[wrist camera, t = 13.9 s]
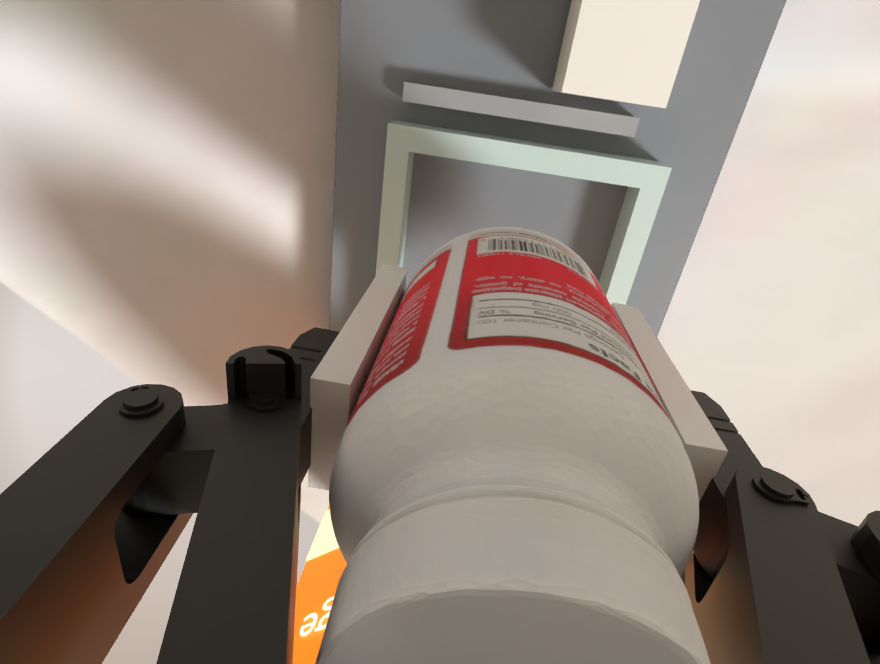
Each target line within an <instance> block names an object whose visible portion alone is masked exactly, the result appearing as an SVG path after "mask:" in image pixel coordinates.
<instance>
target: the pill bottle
mask: <svg viewBox="0 0 880 664" xmlns="http://www.w3.org/2000/svg"><path fill="white" fill-rule="evenodd" d="M329 503H330V516H331V521H332V526H333V530H334V534H335V537H336V541H337V543H338V546H339V548H340V551H341V553H342V555H343V558H344V560H345V561H346V563H347V565H346V567H345V569H344V570H343V573H342V575H341V577H340V579H339V582H338V585H337V589H336V592H335V596H334V600H333V603H332V607H331V610H330V614H329V617H328V621H327V625H326V628H325V632H324V635H323V638H322V642H321V645H320V648H319V652H318V655H317V658H316V663H315V664H711V663H710V660H709V656H708V653H707V650H706V647H705V644H704V641H703V638H702V635H701V632H700V629H699V626H698V623H697V620H696V617H695V614H694V612H693V608H692V604H691V600H690V597H689V595H688V592H687V589H686V587H685V585H684V583H683V581H682V579H681V578H680V577H681V575H682V574H683V572H684V570H685V568H686V566H687V564H688V561H689V559H690V557H691V554H692V551H693V548H694V545H695V541H696V536H697V531H698V524H699V498H698V491H697V484H696V479H695V476H694V472H693V468H692V465H691V462H690V460H689V458H688V455H687V453H686V451H685V449H684V446H683V443H682V441H681V439H680V437H679V435H678V433H677V430H676V428H675V426H674V424H673V423H672V421H671V419H670V417H669V415H668V414H667V412H666V410H665V408H664V406H663V405H662V403H661V401H660V399H659V397H658V395H657V393H656V391H655V389H654V387H653V386H652V384H651V382H650V380H649V377H648V375H647V374H646V372H645V370H644V368H643V366H642V364H641V362H640V360H639V358H638V355H637V353H636V352H635V350H634V348H633V347H632V345H631V343H630V340H629V338H628V336H627V334H626V333H625V331H624V329H623V327H622V325H621V324H620V322H619V320H618V318H617V316H616V314H615V312H614V311H613V309H612V307H611V305H610V303H609V301H608V299H607V297H606V295H605V294H604V292H603V290H602V288H601V286H600V284H599V283H598V281H597V279H596V278H595V276H594V274H593V273H592V271H591V270H590V268H589V267H588V266H587V264H586V263H585V262H584V261H583V260H582V259H581V257H580V256H578V255H577V254H576V253H575V252H574V251H573V250H572V249H571V248H569V247H568V246H566V245H565V244H563V243H562V242H560V241H559V240H557V239H555V238H553V237H551V236H549V235H546V234H544V233H541V232H538V231H534V230H530V229H525V228H519V227H505V226H504V227H490V228H483V229H479V230H476V231H472V232H469V233H466V234H463V235H461V236H459V237H456V238H454V239H452V240H451V241H449V242H447V243H446V244H444V245H442V246H441V247H440V248H439V249H437V250H436V251H435V252H434V253H433V254H431V255H430V256H429V257H428V258H427V259H426V260H425V261H424V262H423V264H422V265H421V266H420V268H419V269H418V270H417V272H416V273H415V274H414V276H413V278H412V280H411V281H410V283H409V285H408V287H407V289H406V291H405V293H404V295H403V298H402V300H401V302H400V305H399V307H398V310H397V312H396V314H395V316H394V319H393V321H392V323H391V326H390V328H389V330H388V333H387V335H386V337H385V340H384V342H383V344H382V346H381V349H380V351H379V353H378V355H377V358H376V360H375V362H374V365H373V367H372V369H371V371H370V373H369V376H368V378H367V381H366V383H365V385H364V387H363V390H362V391H361V393H360V395H359V398H358V401H357V403H356V406H355V408H354V411H353V413H352V415H351V417H350V419H349V421H348V423H347V426H346V429H345V432H344V434H343V437H342V440H341V443H340V446H339V449H338V452H337V454H336V457H335V460H334V464H333V469H332V473H331V478H330V487H329Z"/></svg>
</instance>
